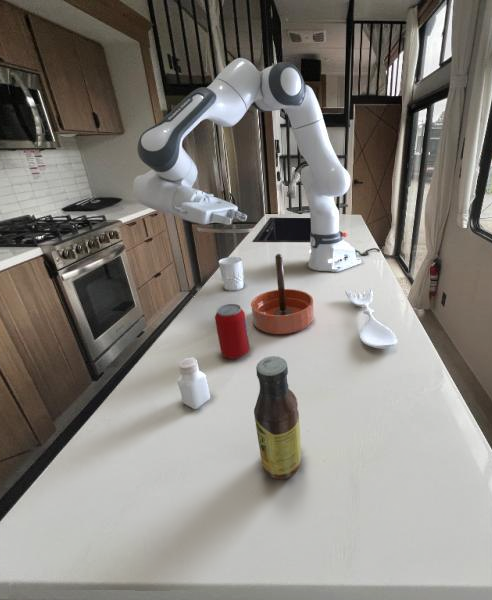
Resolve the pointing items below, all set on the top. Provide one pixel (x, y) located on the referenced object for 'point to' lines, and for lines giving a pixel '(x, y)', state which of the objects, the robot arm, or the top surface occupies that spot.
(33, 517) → the top surface
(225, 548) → the top surface
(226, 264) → the white cup
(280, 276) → the brown rod on stand
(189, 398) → the pepper shaker
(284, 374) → the sauce bottle
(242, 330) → the beverage can
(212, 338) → the top surface
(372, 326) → the spoon
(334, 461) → the top surface
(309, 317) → the bowl
